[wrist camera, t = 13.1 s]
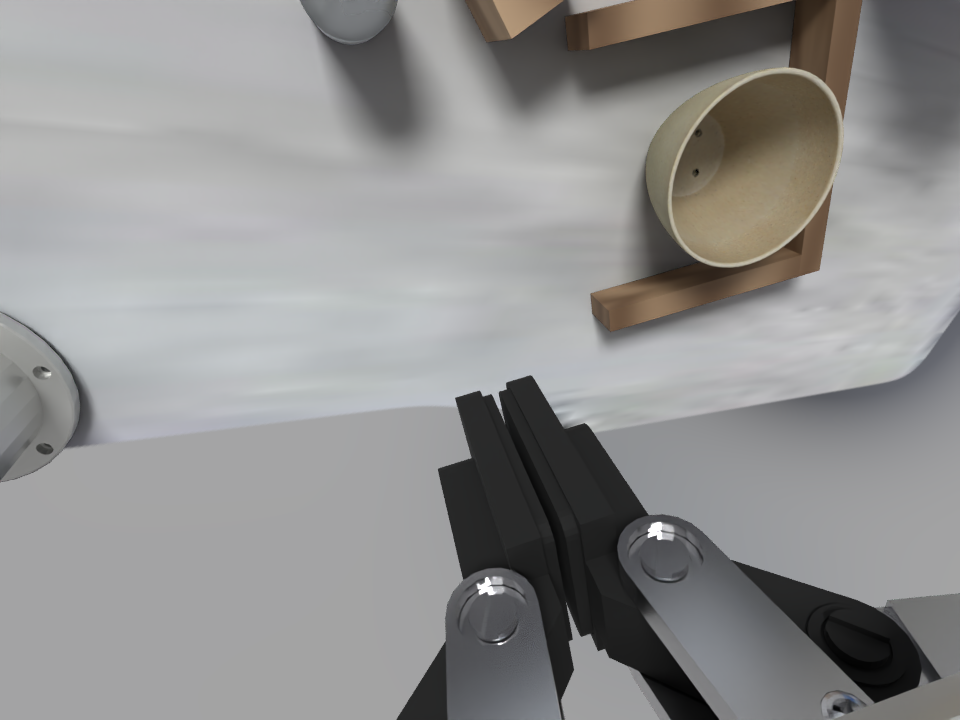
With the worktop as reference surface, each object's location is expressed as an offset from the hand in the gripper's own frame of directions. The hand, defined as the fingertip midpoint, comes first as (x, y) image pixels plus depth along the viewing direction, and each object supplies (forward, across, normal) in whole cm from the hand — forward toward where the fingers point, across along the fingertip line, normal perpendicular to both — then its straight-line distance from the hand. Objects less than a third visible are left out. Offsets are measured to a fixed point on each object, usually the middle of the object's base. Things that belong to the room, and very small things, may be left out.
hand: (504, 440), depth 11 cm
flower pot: (+23, -18, +2) cm, 29 cm away
